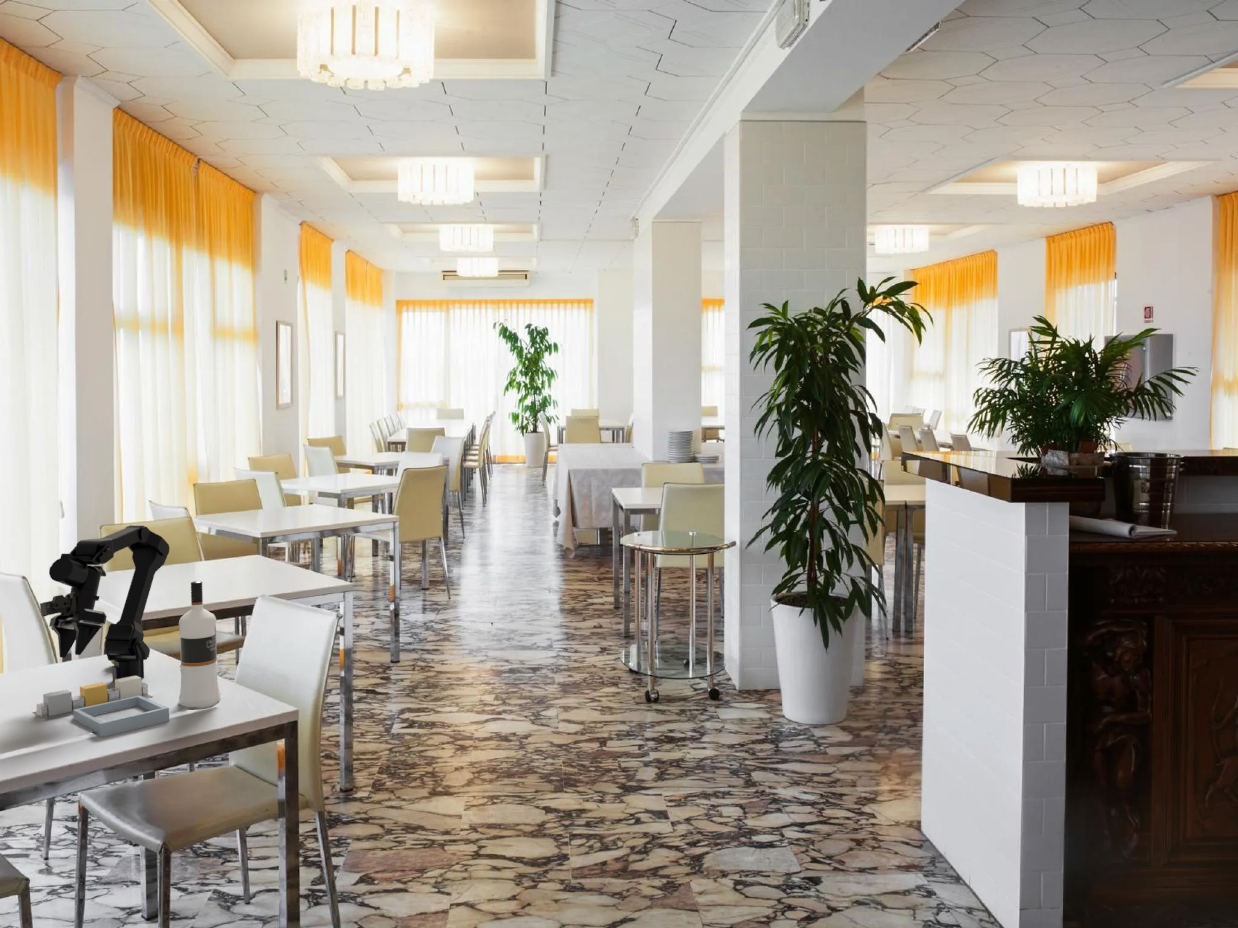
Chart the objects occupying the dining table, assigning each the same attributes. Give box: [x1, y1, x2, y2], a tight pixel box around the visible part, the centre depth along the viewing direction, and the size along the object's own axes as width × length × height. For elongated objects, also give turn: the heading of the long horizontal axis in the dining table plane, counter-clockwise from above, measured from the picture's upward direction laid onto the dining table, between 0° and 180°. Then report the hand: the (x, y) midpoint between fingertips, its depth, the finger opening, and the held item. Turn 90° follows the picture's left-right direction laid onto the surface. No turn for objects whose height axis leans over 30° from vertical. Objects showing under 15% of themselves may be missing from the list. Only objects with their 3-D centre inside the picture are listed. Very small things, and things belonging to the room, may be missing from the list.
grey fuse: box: [42, 689, 73, 716], centre depth 235 cm, size 5×3×4 cm, turn 139°
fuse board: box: [31, 681, 154, 721], centre depth 241 cm, size 24×9×4 cm, turn 139°
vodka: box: [178, 580, 221, 711], centre depth 243 cm, size 9×9×30 cm
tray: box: [72, 695, 170, 738], centre depth 231 cm, size 15×15×3 cm
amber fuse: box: [79, 681, 108, 707], centre depth 241 cm, size 5×3×4 cm, turn 139°
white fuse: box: [114, 676, 142, 700], centre depth 247 cm, size 5×3×4 cm, turn 139°
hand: (69, 656), depth 239 cm, fingers open, 9 cm apart
